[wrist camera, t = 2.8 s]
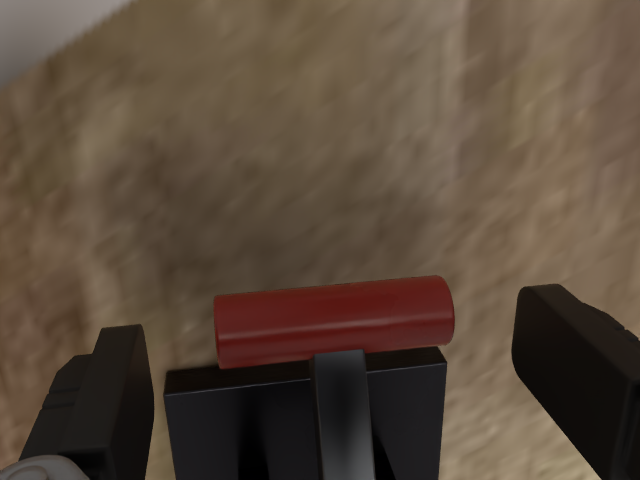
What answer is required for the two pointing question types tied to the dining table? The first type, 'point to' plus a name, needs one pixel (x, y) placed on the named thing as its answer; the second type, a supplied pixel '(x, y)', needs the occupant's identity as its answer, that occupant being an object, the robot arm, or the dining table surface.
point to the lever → (335, 349)
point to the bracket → (302, 419)
